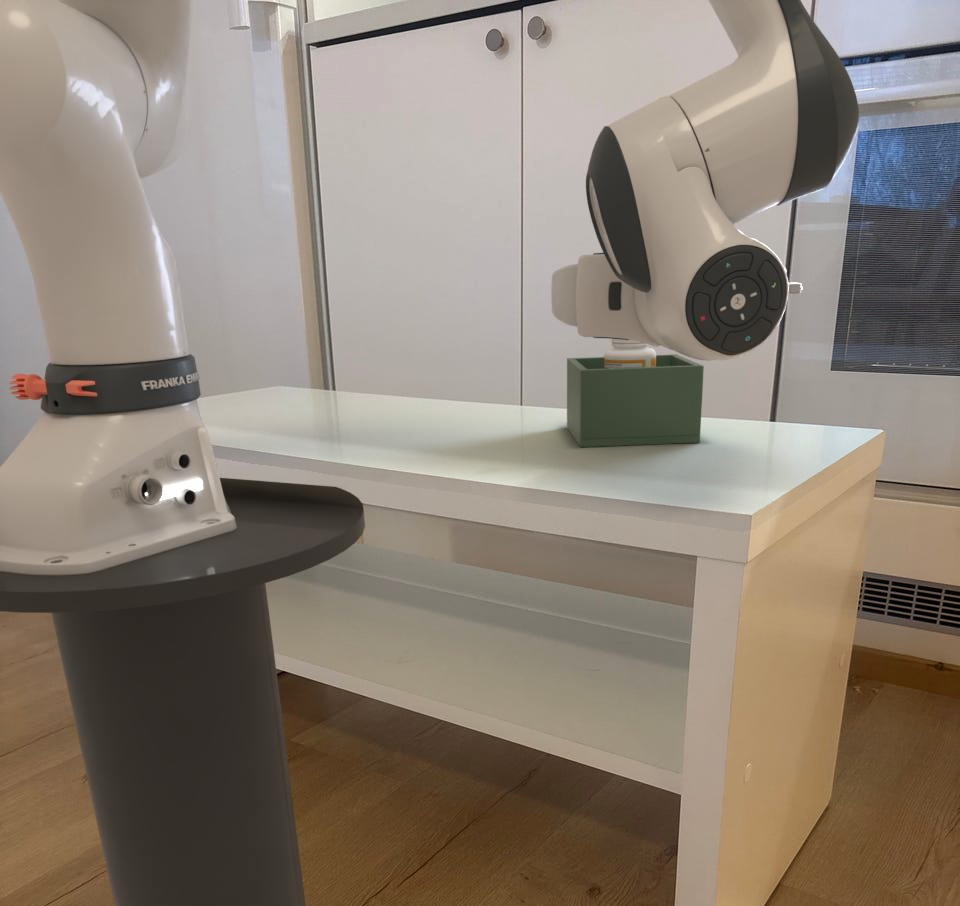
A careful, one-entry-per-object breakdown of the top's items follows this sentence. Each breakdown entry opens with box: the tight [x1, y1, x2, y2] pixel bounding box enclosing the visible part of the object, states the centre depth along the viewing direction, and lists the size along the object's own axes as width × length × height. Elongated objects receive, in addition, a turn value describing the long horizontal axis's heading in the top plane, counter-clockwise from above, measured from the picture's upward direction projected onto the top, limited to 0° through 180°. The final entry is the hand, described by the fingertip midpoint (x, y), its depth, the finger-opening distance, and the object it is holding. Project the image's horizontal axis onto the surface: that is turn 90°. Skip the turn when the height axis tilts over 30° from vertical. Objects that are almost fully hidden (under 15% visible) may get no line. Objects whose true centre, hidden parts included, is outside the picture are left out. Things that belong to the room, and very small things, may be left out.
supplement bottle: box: [603, 339, 657, 369], centre depth 103 cm, size 6×6×10 cm
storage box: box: [566, 353, 705, 448], centre depth 103 cm, size 13×13×8 cm
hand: (650, 288), depth 90 cm, fingers open, 8 cm apart
